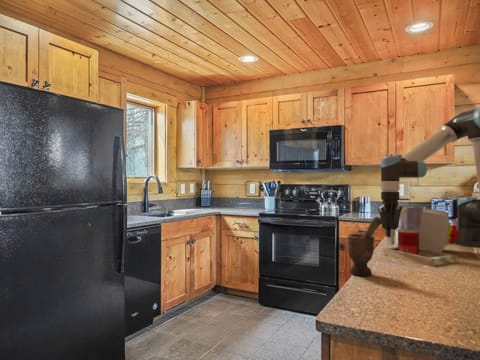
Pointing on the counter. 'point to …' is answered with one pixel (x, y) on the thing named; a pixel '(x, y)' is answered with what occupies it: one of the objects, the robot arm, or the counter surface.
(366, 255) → the mortar and pestle
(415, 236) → the canned food
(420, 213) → the cake pan box
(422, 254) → the slot frame
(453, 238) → the electrical switch box
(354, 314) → the counter surface
